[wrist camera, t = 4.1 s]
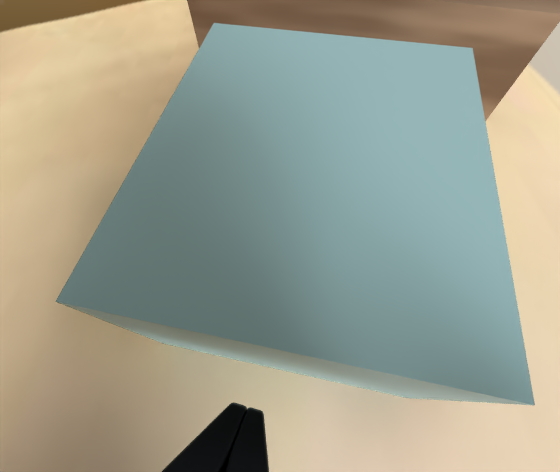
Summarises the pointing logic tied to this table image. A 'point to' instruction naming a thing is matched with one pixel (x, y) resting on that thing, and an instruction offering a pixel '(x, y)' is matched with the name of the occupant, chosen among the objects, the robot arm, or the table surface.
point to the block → (319, 219)
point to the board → (409, 27)
